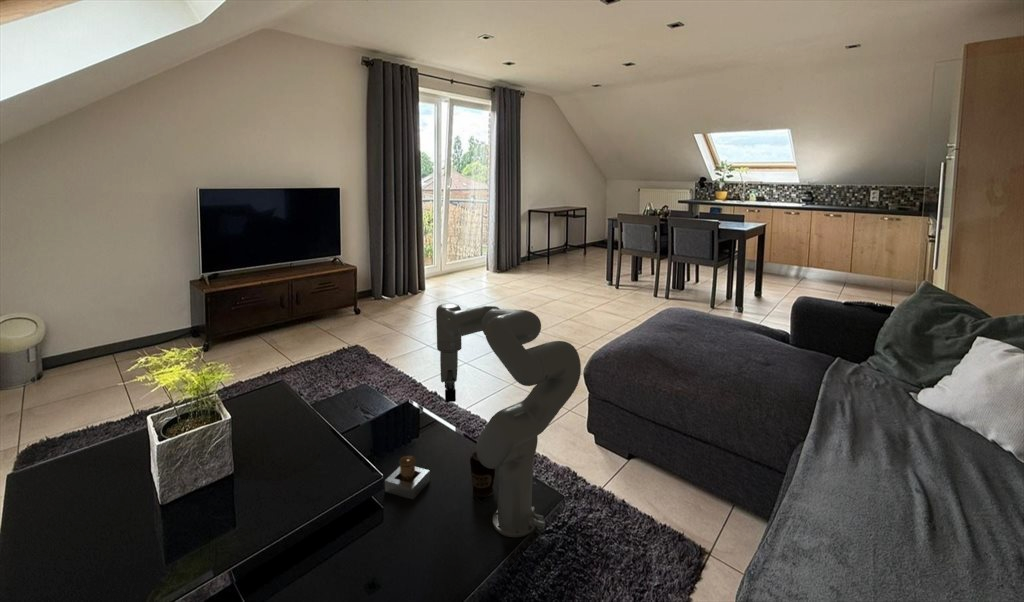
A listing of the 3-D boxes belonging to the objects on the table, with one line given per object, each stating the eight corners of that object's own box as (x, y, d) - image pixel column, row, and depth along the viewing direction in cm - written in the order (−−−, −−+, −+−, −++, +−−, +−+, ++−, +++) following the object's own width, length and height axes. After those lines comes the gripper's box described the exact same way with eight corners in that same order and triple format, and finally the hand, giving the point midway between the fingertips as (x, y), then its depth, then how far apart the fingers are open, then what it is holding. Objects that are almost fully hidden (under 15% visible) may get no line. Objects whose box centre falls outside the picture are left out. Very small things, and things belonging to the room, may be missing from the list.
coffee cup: (492, 502, 149) (493, 465, 145) (466, 498, 150) (466, 461, 147) (499, 485, 157) (499, 449, 154) (474, 481, 159) (474, 445, 155)
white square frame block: (429, 481, 158) (429, 470, 157) (412, 499, 149) (412, 488, 148) (403, 473, 162) (403, 463, 161) (385, 491, 153) (384, 480, 152)
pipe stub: (419, 482, 157) (418, 457, 155) (410, 491, 152) (409, 466, 150) (405, 479, 158) (404, 454, 156) (397, 488, 154) (395, 462, 152)
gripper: (436, 334, 159) (438, 383, 163) (436, 354, 142) (438, 407, 147) (460, 334, 160) (460, 382, 164) (462, 353, 143) (463, 406, 148)
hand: (450, 394), depth 156 cm, fingers open, 9 cm apart
